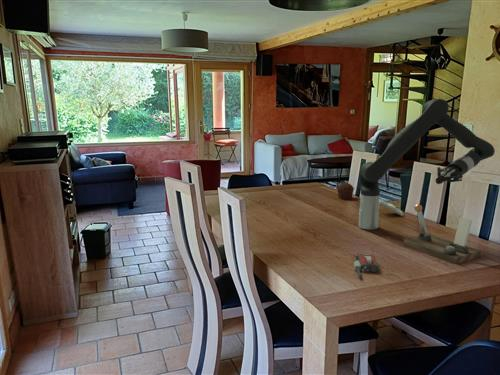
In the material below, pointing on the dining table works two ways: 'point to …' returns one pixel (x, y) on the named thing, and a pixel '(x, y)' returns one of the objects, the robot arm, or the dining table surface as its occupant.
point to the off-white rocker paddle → (462, 232)
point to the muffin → (345, 191)
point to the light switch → (391, 207)
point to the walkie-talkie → (365, 264)
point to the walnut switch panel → (442, 248)
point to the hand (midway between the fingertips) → (437, 182)
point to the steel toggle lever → (421, 219)
